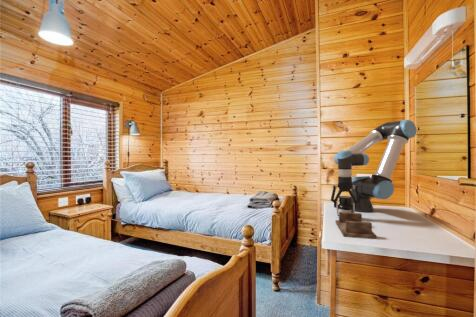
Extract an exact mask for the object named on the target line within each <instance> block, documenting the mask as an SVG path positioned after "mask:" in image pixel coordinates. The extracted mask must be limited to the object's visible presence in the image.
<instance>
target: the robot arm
mask: <svg viewBox="0 0 476 317" xmlns="http://www.w3.org/2000/svg"><path fill="white" fill-rule="evenodd" d="M416 135H417V127H416V124H415V123H414V121H412V120H410V119H402V120H397V121H387V122H384V123H381V125H379V126H377V127H375V128H374V129H372V130H371V131H370V132H369V134H368V135H366V136H365V137H363V138H362V139H360V140H359V141H357V142H356V143H355V144H352V146H350V147H349V148H347V149H346V150H339V151H338V153H336V154H335V155H334V156H333V162H334V163H335V164H337V179H338V180H337V184H336V185H335V184H332V192H331V197H330V201H331V202H332V203H333V207H334V208H335V213H336V214H338V204H339V202H338V201H339V196H341V194H342V193H345V192H346V193H347V192H348V193H349V196H350V197H351V204H352V205H353V213H356V212H357V213H360V212H361V213H370V212H371V213H372V212H373V211H374V207H373V204H372V200H371V198H375V199H377V200H387V199H389V198H391V197H392V195H393V194H394V192H395V185H394V184H393V179H392V175H393V173H394V171H395V168H396V166H397V163H398V161H399V157H400V155H401V153H402V150H403V147H404V145H407V144H408V142H409V140H410V139H412V138H414V137H415V136H416ZM385 140H388V142H387V143H386V147H385V149H384V152H383V154H382V157H381V158H380V162H379V165H378V166H377V169H376V172H375V173H373V174H371V176H369V175H367V176H365V175H364V176H353V177H352V174H353V171H352V169H353V167H357V166H360V167H362V166H367V165H368V164H369V162H370V157H369V155H368V154H366V153H365V151H367V150H369V149H370V148H371V147H373V146H374V145H376V144H377V143H381V142H382V141H385ZM336 189H339V190H338V191H337V190H336ZM336 191H337V194H336ZM335 194H336V196H335Z"/></svg>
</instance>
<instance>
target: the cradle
mask: <svg viewBox="0 0 476 317" xmlns="http://www.w3.org/2000/svg"><path fill="white" fill-rule="evenodd" d="M362 216H363V215H362V212H361V213H360V212H355V213H346V212H339V216H338V220H337V219H335V224H336V226H337V228H338V229H339V231H340V233H341V234H342V236H343V237H344V238H345V237H346V238H359V239H373V240H374V239H377V235H376V234H375V232H373V230H372V229H373V228H372V227H373V223H372V222H371V221H363V219H362V218H363V217H362Z"/></svg>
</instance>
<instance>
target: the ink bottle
mask: <svg viewBox="0 0 476 317" xmlns="http://www.w3.org/2000/svg"><path fill="white" fill-rule="evenodd" d="M339 212H346V213H353V205H352V204H351V196H350V195H340V196H339V198H338V214H337V213H336V214H337V216H338V217H339Z"/></svg>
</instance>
